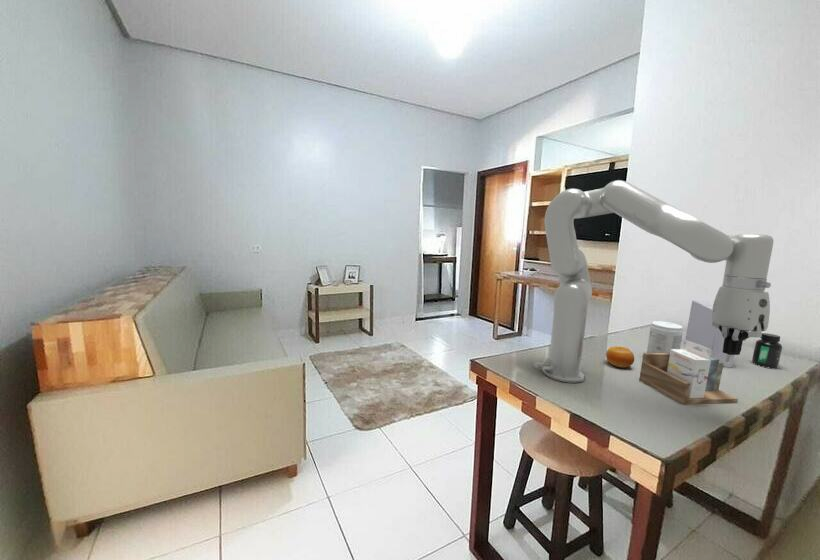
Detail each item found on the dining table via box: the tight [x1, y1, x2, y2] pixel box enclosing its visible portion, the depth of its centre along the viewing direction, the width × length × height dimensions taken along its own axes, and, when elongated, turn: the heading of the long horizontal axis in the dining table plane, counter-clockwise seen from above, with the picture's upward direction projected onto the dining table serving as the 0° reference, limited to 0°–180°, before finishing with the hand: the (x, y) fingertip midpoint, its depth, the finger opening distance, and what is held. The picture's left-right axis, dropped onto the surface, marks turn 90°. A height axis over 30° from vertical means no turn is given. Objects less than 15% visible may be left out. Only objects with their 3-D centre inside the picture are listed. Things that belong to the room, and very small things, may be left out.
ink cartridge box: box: [667, 339, 712, 398], centre depth 96 cm, size 9×5×15 cm, turn 5°
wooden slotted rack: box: [639, 352, 739, 405], centre depth 100 cm, size 18×15×11 cm
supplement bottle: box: [751, 332, 783, 369], centre depth 123 cm, size 7×7×12 cm
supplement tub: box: [646, 320, 684, 353], centre depth 122 cm, size 10×10×15 cm
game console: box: [685, 300, 735, 368], centre depth 132 cm, size 6×27×20 cm, turn 157°
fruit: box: [605, 346, 635, 368], centre depth 118 cm, size 8×8×8 cm
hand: (730, 353), depth 84 cm, fingers closed
